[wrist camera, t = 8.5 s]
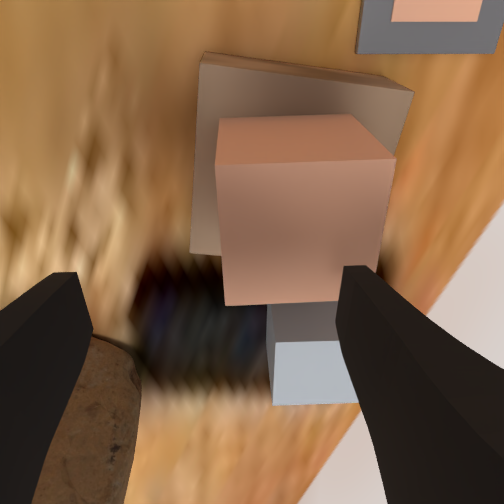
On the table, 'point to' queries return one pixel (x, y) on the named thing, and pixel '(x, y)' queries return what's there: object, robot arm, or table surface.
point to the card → (429, 26)
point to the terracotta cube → (298, 205)
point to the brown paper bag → (95, 433)
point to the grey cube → (306, 355)
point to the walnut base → (279, 104)
